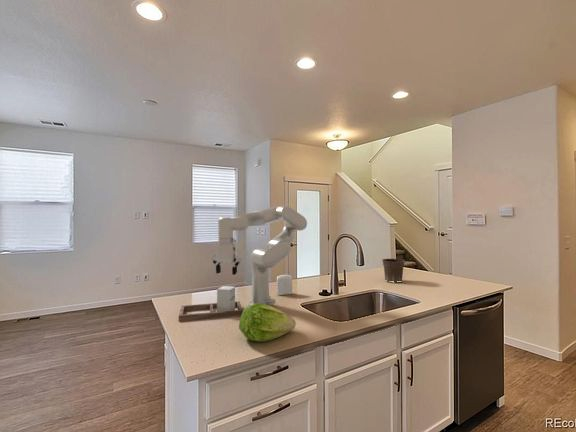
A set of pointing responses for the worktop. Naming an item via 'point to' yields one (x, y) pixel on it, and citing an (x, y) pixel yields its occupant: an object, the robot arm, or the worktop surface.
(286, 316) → the lettuce
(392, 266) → the plant pot
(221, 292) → the supplement box
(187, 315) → the tray
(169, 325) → the worktop surface
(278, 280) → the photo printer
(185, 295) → the worktop surface
